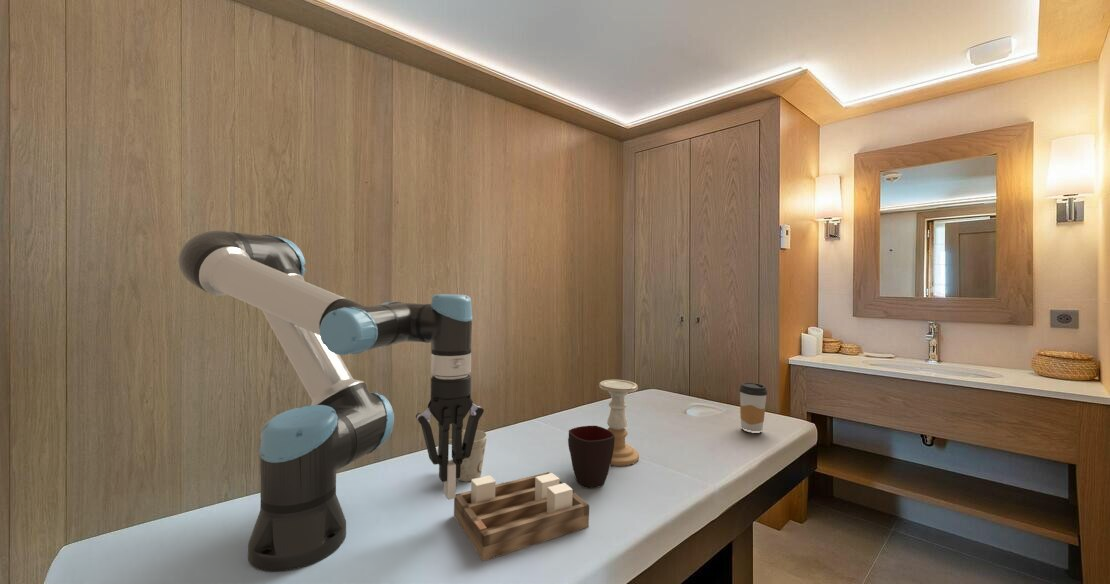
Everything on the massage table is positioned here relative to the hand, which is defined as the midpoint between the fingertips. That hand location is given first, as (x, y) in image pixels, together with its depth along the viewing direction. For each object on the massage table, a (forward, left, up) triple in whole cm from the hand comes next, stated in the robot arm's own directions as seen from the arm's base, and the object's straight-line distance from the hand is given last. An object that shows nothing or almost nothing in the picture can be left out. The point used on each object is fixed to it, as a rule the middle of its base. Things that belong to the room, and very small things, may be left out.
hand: (449, 495), depth 85 cm
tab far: (+7, 0, -4) cm, 8 cm away
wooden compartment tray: (+13, -5, -6) cm, 15 cm away
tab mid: (+19, -5, -4) cm, 20 cm away
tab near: (+19, -10, -4) cm, 22 cm away
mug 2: (+35, +4, -6) cm, 36 cm away
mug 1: (+9, +20, -6) cm, 23 cm away
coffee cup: (+103, +7, -6) cm, 103 cm away
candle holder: (+50, +11, -6) cm, 52 cm away
